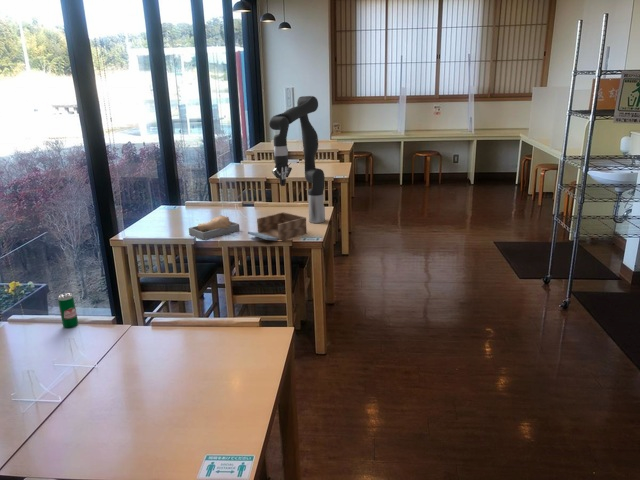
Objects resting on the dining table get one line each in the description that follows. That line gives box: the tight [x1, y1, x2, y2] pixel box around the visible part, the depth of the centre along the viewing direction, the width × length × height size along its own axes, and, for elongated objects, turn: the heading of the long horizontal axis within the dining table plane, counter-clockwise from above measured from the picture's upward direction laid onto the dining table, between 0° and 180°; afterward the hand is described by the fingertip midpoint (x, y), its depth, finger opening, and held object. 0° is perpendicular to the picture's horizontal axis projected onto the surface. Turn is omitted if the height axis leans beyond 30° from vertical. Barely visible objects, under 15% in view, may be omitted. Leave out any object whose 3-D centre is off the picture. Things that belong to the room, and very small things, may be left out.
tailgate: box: [247, 231, 278, 241], centre depth 276 cm, size 1×17×8 cm
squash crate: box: [188, 220, 241, 241], centre depth 292 cm, size 25×16×4 cm, turn 134°
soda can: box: [57, 292, 79, 329], centre depth 180 cm, size 5×5×12 cm
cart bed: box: [256, 211, 308, 241], centre depth 285 cm, size 20×20×10 cm
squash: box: [197, 215, 232, 232], centre depth 292 cm, size 11×20×9 cm, turn 86°
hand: (282, 185), depth 275 cm, fingers closed
